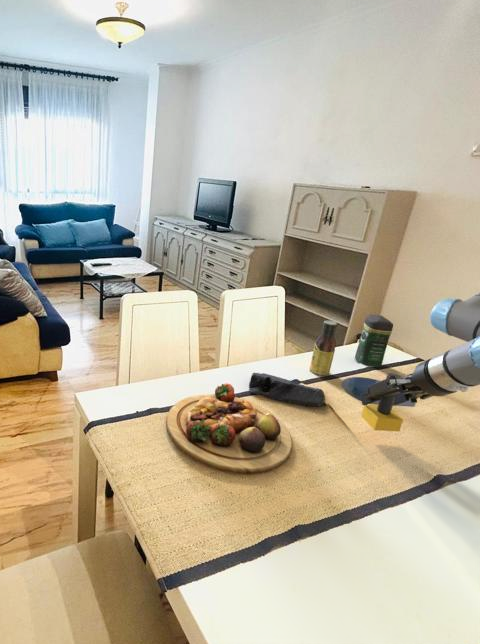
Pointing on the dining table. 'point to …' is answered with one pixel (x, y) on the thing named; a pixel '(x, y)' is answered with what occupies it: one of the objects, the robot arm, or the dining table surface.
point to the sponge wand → (383, 413)
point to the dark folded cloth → (285, 390)
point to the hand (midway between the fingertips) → (375, 400)
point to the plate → (364, 388)
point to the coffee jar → (373, 340)
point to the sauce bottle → (324, 350)
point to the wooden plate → (229, 433)
